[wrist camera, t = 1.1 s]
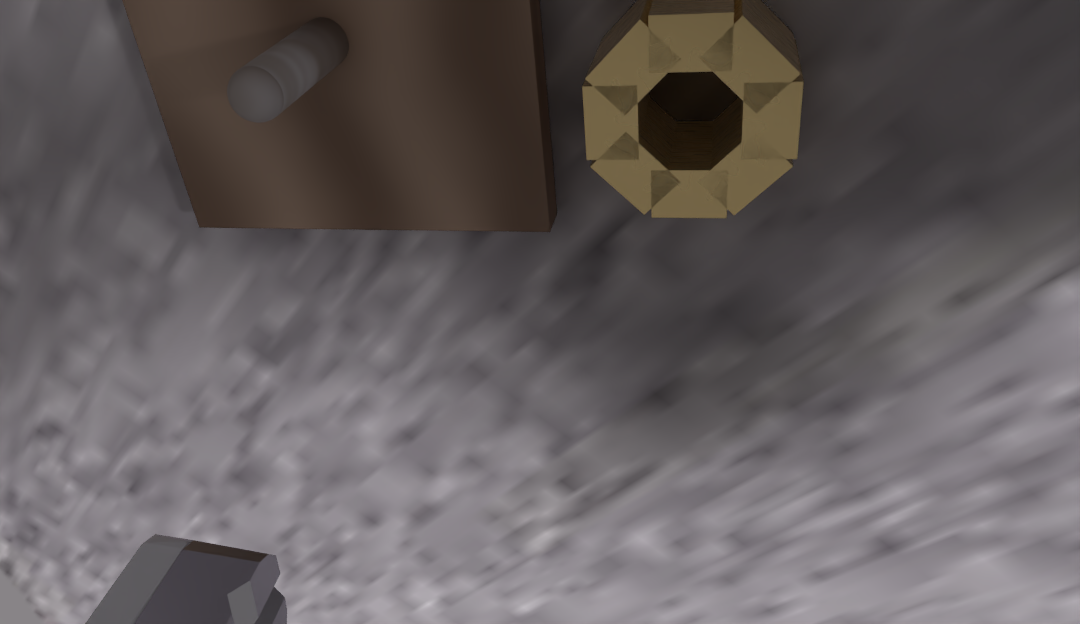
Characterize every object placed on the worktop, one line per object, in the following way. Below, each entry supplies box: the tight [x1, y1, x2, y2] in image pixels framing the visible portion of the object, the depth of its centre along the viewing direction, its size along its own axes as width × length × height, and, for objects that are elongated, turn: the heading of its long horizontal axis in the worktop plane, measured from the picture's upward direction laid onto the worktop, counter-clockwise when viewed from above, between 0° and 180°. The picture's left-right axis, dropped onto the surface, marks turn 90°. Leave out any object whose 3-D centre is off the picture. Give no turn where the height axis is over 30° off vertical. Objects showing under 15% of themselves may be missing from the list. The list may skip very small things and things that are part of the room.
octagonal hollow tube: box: [582, 0, 804, 218], centre depth 27 cm, size 6×6×4 cm
